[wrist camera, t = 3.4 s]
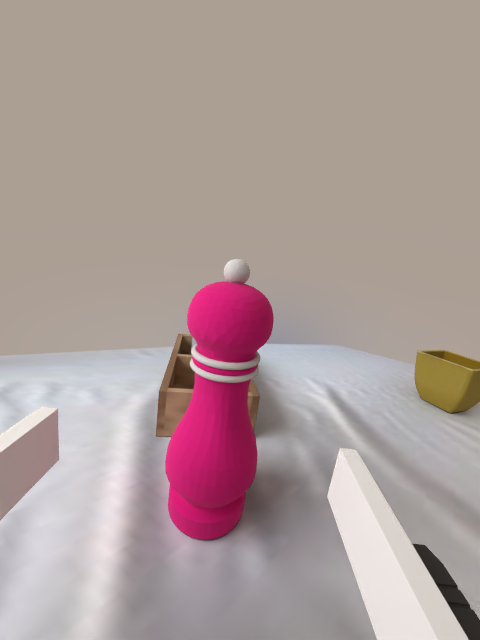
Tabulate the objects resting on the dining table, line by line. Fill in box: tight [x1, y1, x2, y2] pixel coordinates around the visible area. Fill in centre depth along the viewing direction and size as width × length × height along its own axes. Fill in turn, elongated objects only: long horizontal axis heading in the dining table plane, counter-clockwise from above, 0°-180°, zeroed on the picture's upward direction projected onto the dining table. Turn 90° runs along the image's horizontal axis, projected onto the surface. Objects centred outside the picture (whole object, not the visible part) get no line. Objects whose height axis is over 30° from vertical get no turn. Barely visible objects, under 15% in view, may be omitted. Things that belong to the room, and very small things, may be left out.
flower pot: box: [415, 350, 480, 413], centre depth 45 cm, size 9×9×9 cm
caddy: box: [156, 334, 260, 437], centre depth 38 cm, size 11×21×6 cm, turn 8°
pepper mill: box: [165, 259, 273, 540], centre depth 19 cm, size 7×7×20 cm
